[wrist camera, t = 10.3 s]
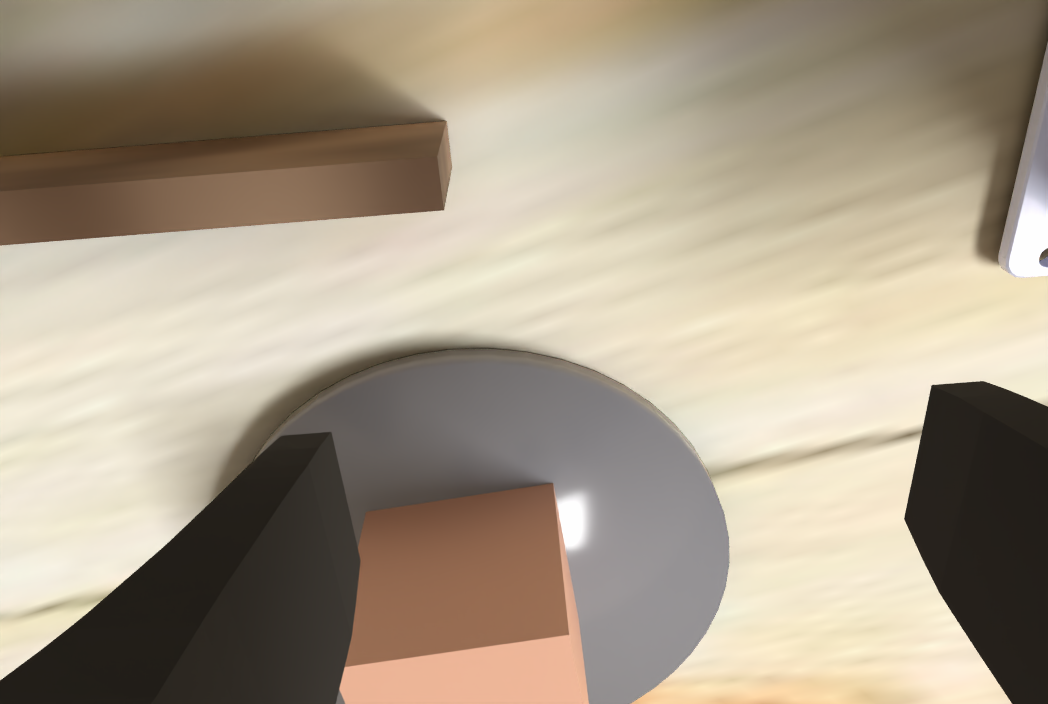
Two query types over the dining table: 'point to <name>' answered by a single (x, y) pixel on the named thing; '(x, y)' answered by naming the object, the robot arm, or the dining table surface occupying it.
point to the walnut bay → (224, 183)
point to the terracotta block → (466, 605)
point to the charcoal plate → (543, 458)
